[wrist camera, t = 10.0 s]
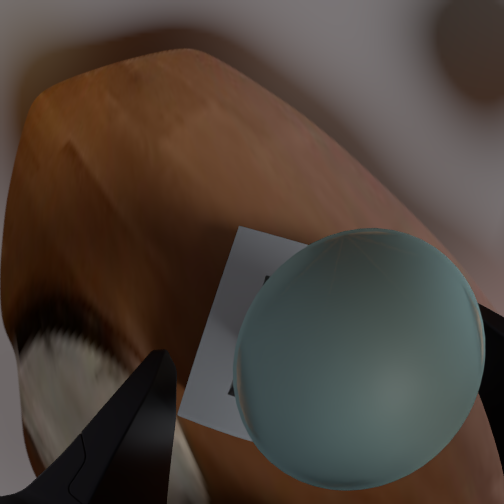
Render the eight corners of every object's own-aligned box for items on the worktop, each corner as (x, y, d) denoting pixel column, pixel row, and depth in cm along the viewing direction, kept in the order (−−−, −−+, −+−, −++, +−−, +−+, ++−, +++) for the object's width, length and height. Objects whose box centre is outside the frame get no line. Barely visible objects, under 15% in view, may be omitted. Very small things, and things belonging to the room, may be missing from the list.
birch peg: (285, 385, 17) (309, 526, 3) (253, 326, 18) (183, 310, 4) (345, 352, 17) (508, 388, 3) (313, 294, 18) (413, 187, 4)
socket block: (351, 440, 15) (368, 464, 11) (197, 399, 17) (177, 415, 13) (396, 290, 17) (424, 279, 14) (246, 247, 19) (239, 225, 15)
